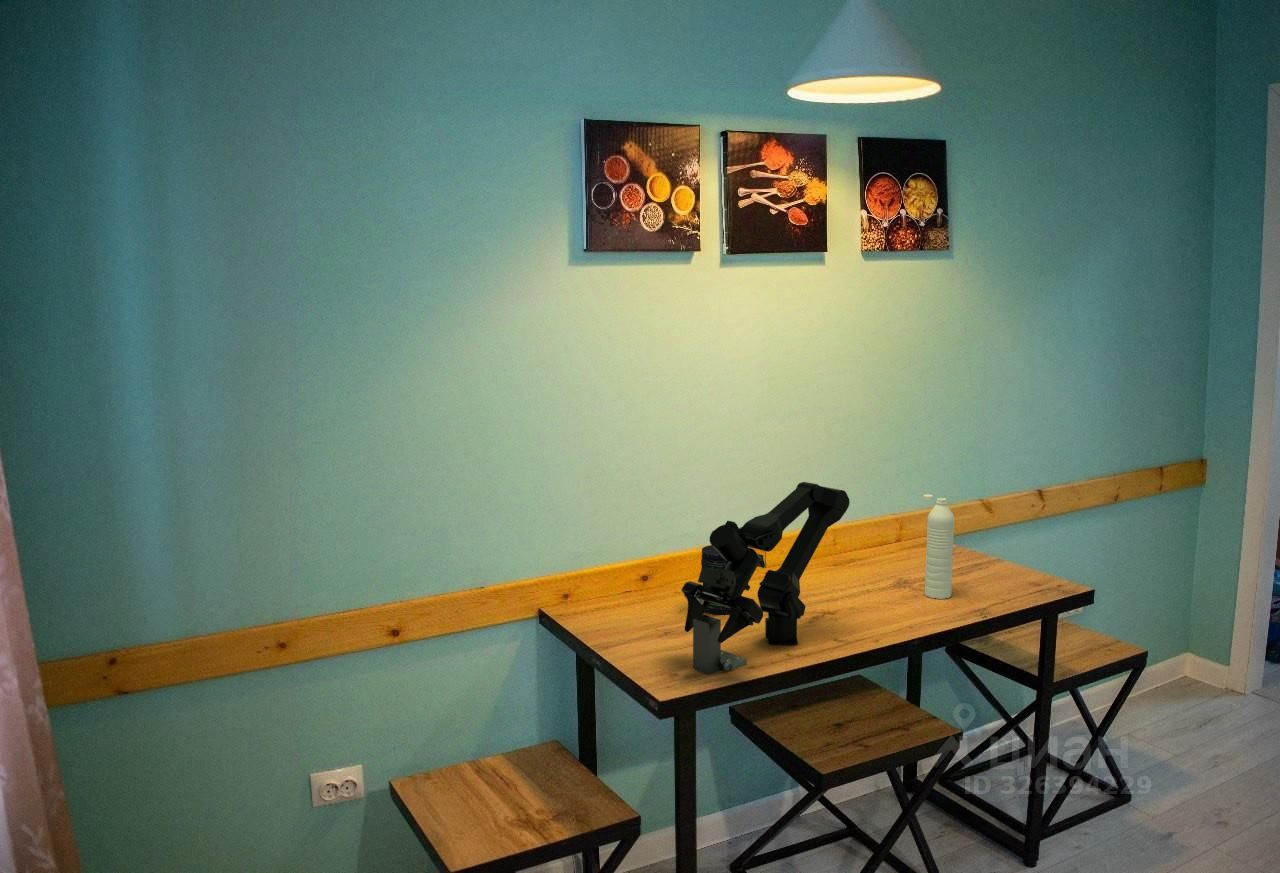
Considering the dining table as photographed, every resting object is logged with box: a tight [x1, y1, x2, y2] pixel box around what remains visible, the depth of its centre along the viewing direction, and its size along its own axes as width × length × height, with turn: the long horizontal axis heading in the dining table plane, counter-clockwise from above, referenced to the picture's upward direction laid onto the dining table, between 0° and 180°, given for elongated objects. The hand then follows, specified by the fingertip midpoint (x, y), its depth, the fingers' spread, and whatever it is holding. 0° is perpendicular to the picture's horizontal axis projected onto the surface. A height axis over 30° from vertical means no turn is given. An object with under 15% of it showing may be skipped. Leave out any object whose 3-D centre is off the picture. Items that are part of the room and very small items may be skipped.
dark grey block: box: [692, 614, 722, 676], centre depth 222 cm, size 4×4×11 cm
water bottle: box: [922, 494, 955, 600], centre depth 270 cm, size 9×6×25 cm
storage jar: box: [700, 544, 743, 617], centre depth 260 cm, size 10×10×15 cm
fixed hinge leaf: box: [721, 649, 748, 672], centre depth 226 cm, size 7×8×2 cm
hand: (702, 636), depth 221 cm, fingers open, 9 cm apart
